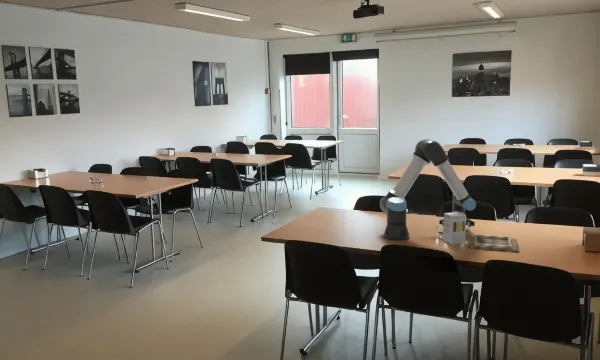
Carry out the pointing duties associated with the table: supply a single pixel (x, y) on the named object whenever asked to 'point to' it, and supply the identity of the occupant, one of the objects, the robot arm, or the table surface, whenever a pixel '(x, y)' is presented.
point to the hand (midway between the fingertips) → (456, 226)
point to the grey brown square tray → (493, 243)
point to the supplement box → (454, 228)
